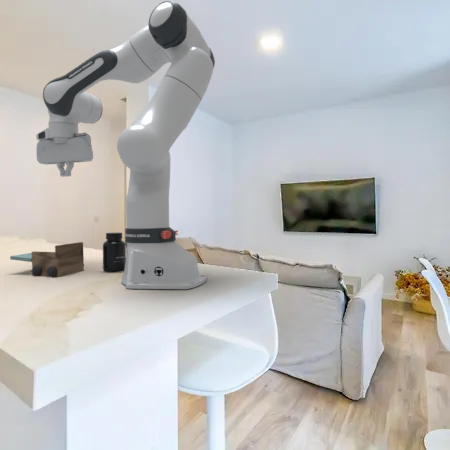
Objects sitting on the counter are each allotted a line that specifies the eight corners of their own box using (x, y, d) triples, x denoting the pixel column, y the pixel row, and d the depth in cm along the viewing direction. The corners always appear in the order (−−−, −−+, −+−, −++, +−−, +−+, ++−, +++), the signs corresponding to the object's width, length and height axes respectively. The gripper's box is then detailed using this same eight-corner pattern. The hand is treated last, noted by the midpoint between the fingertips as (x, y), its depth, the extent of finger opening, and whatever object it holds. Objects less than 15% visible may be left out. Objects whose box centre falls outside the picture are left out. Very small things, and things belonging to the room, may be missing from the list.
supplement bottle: (121, 272, 94) (120, 233, 94) (99, 272, 94) (98, 233, 94) (129, 268, 101) (128, 231, 100) (108, 268, 101) (107, 232, 101)
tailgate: (57, 253, 101) (38, 251, 103) (31, 258, 92) (10, 256, 94) (57, 258, 101) (38, 256, 103) (30, 263, 92) (10, 261, 94)
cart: (85, 269, 99) (84, 241, 99) (56, 277, 88) (55, 246, 88) (61, 268, 102) (60, 241, 102) (30, 275, 91) (28, 245, 90)
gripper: (96, 134, 104) (98, 175, 105) (47, 139, 110) (49, 178, 110) (83, 129, 98) (84, 173, 99) (32, 135, 103) (34, 176, 104)
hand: (65, 176), depth 104 cm, fingers closed
